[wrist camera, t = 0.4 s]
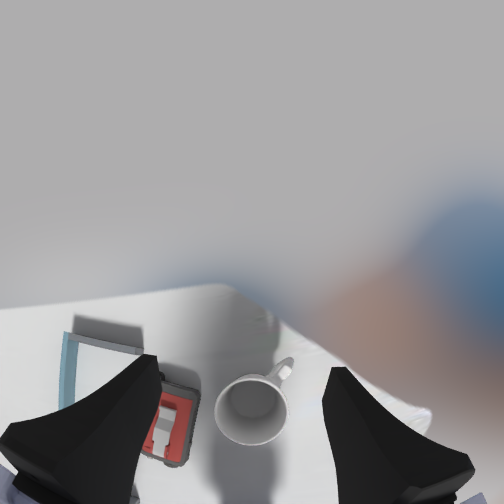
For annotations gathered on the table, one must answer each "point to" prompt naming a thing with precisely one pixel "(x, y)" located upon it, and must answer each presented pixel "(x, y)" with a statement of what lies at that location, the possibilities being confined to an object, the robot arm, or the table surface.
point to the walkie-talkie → (172, 425)
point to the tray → (70, 368)
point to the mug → (254, 406)
